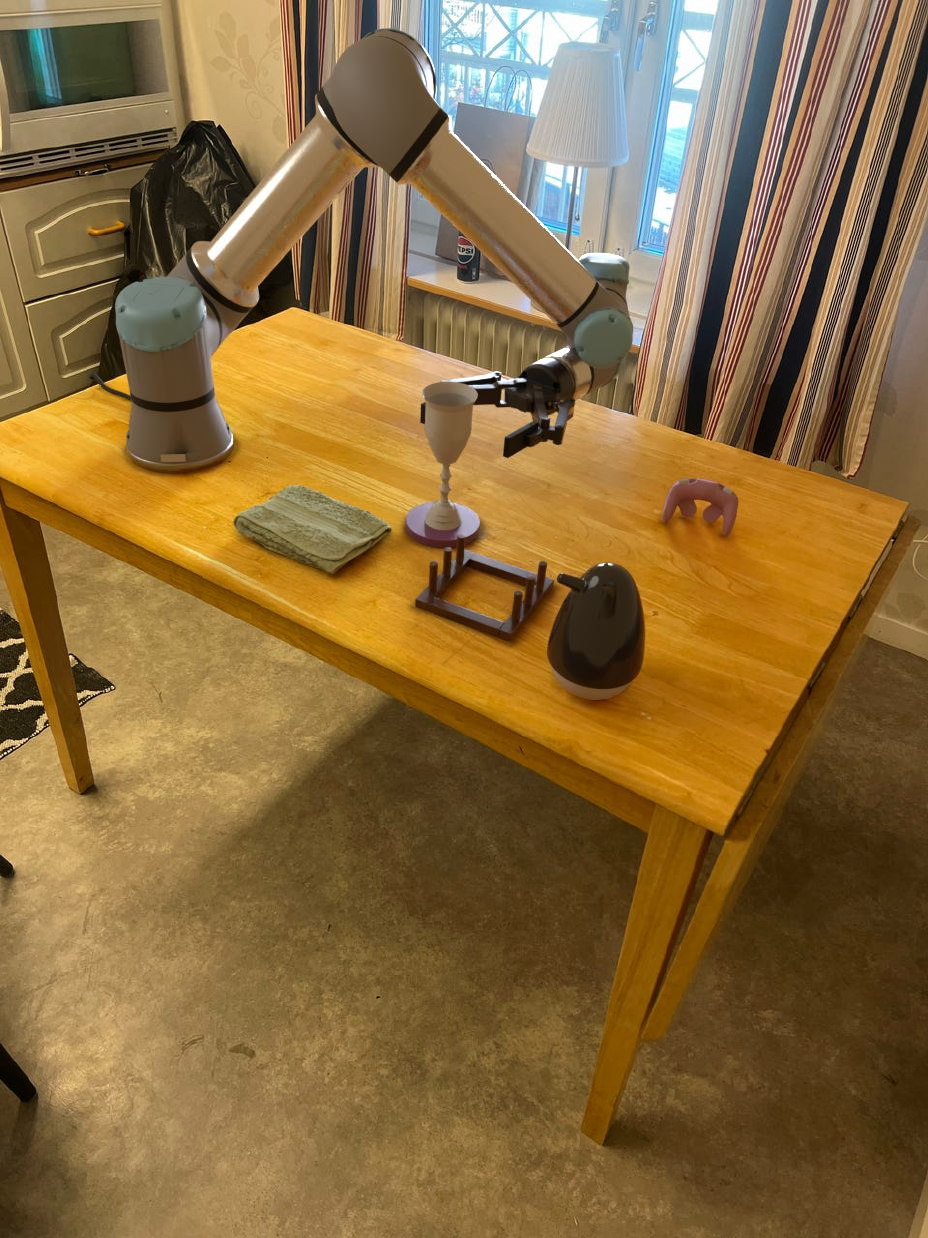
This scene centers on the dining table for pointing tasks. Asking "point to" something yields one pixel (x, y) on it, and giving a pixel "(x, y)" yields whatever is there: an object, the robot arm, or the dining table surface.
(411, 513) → the lid
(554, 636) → the pump dispenser
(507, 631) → the drying rack
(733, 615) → the dining table surface
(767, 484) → the dining table surface
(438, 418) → the chalice
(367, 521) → the washcloth
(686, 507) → the video game controller
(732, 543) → the dining table surface
